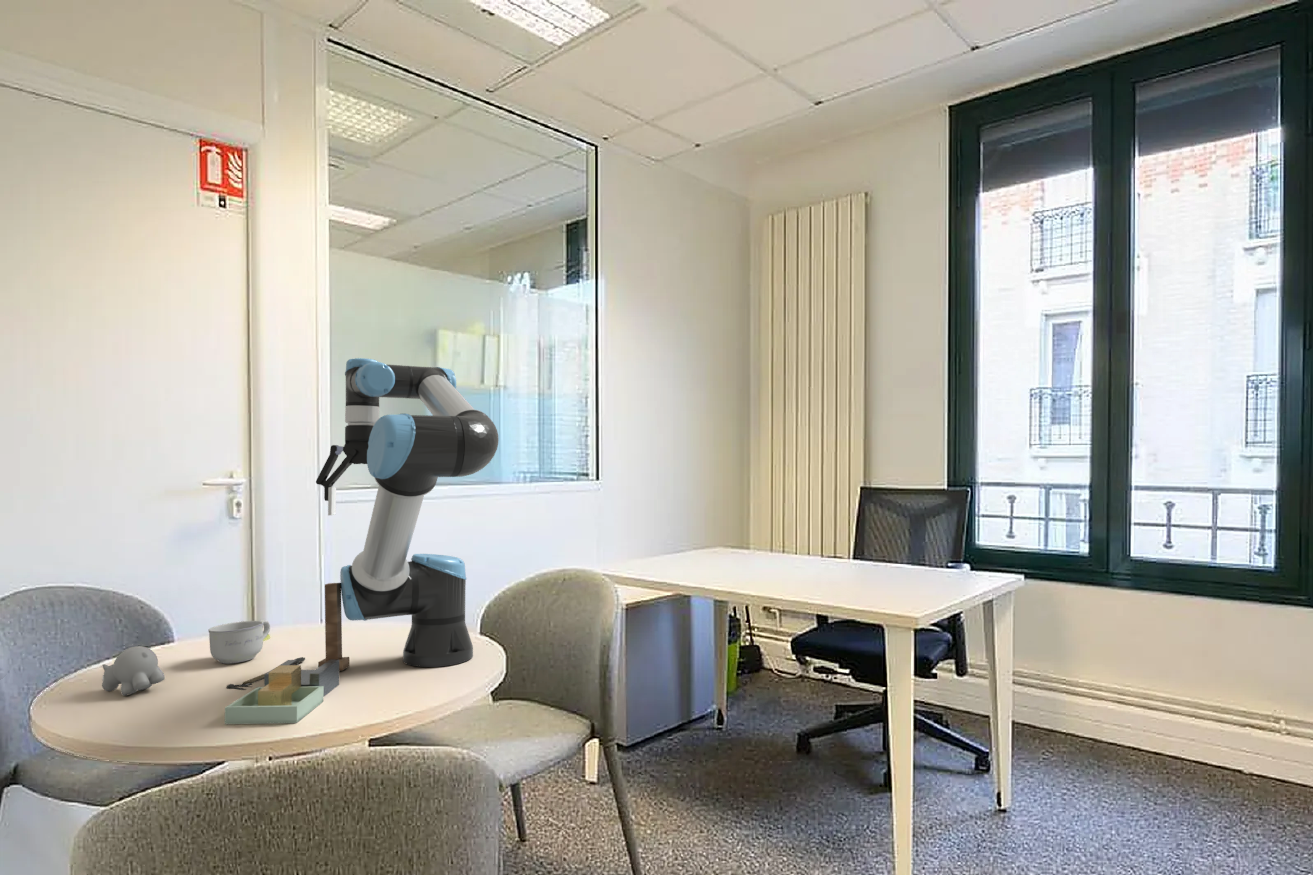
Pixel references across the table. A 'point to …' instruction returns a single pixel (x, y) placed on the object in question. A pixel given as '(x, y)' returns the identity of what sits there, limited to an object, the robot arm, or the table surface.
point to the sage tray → (274, 707)
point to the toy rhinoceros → (132, 671)
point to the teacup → (237, 640)
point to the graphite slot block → (316, 675)
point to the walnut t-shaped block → (333, 626)
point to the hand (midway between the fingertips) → (361, 515)
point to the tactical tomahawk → (255, 679)
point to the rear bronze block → (286, 675)
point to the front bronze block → (275, 695)
